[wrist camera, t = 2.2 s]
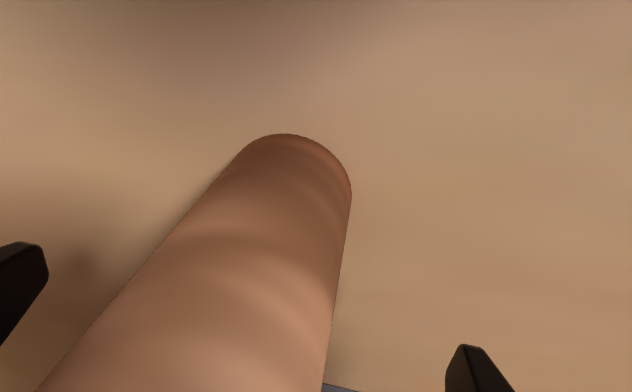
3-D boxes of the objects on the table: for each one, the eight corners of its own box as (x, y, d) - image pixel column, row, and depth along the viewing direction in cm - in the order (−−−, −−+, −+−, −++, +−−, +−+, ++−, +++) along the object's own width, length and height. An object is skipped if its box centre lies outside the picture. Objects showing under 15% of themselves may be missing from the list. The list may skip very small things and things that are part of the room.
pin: (363, 148, 11) (285, 718, 3) (339, 255, 13) (249, 775, 5) (231, 121, 11) (-251, 556, 3) (226, 230, 13) (-61, 678, 5)
